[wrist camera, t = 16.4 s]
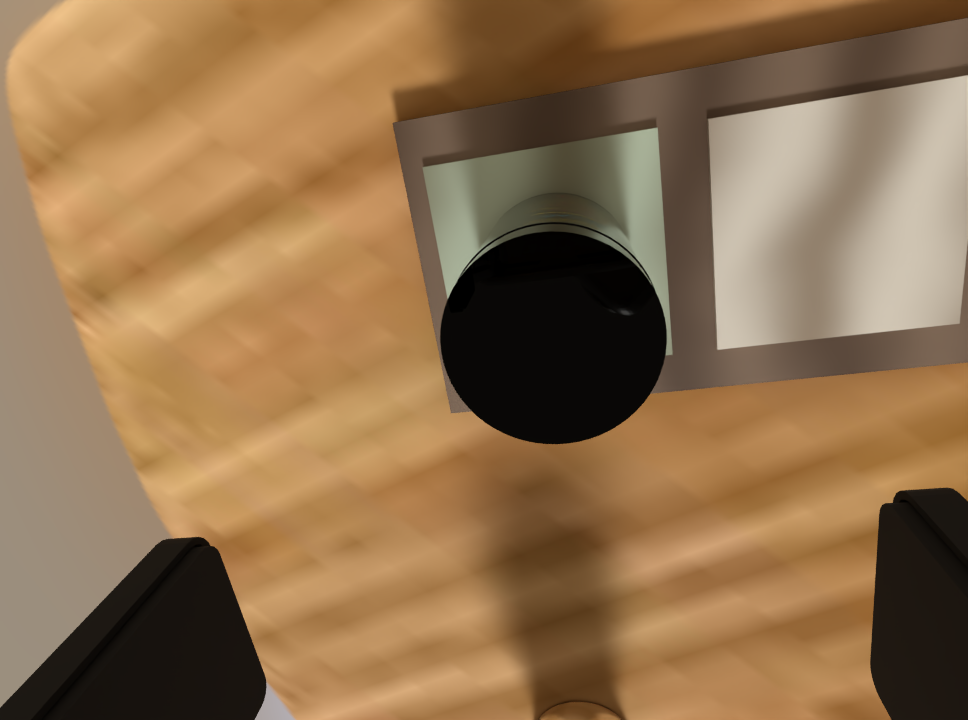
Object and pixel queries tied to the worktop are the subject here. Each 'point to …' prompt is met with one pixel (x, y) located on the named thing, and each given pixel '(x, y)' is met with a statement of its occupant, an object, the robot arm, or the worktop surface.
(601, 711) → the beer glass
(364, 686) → the worktop surface
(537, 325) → the supplement container
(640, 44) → the worktop surface
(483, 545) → the worktop surface
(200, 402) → the worktop surface
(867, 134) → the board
